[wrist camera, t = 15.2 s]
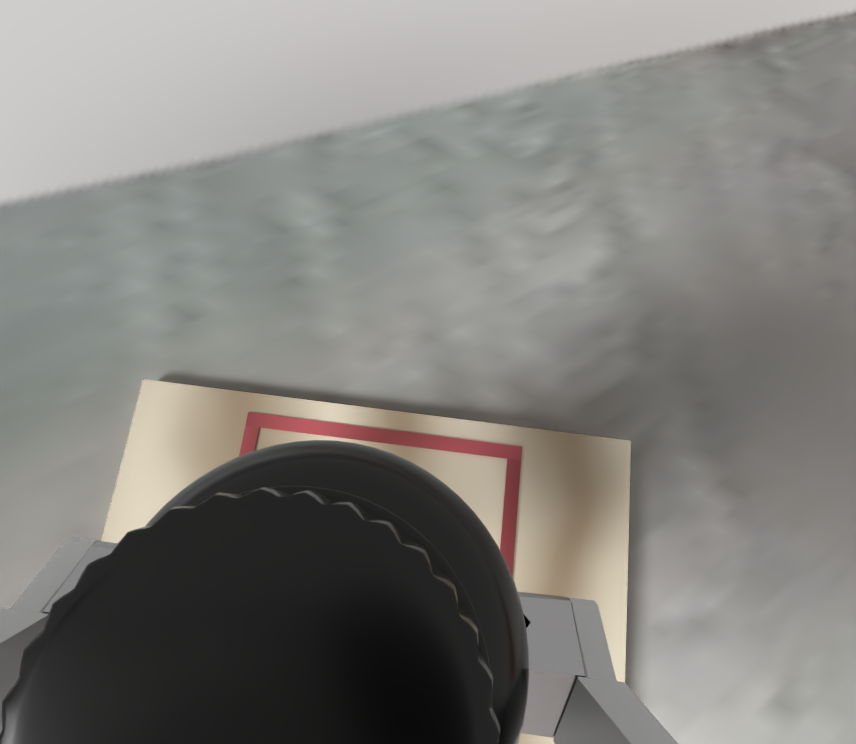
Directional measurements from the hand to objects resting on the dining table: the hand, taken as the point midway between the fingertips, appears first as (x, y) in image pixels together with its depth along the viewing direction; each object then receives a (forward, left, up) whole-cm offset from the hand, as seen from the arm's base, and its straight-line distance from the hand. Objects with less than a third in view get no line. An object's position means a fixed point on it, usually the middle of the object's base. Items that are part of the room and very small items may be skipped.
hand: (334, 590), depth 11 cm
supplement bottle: (0, -1, -6) cm, 6 cm away
